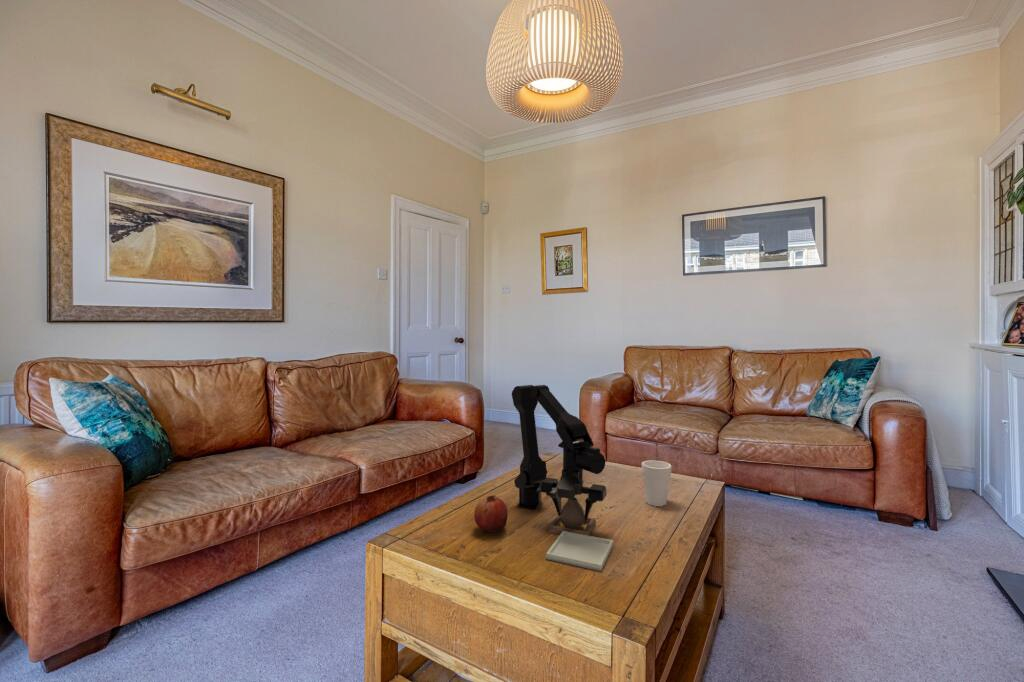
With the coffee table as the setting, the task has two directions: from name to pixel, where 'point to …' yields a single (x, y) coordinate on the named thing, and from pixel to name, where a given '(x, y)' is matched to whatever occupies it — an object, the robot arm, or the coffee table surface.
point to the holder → (558, 530)
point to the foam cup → (656, 481)
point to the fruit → (491, 514)
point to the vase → (572, 514)
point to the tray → (580, 550)
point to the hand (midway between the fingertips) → (572, 517)
